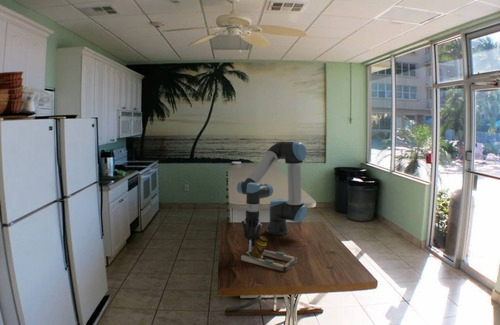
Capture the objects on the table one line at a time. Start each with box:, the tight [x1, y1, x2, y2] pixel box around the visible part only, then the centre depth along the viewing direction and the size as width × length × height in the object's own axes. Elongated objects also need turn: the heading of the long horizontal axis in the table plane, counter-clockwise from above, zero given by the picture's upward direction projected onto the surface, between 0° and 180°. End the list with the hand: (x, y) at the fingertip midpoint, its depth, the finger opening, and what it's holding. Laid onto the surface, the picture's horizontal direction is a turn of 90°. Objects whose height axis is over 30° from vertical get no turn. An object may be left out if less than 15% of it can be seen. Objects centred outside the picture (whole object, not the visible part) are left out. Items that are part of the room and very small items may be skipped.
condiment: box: [245, 235, 268, 259], centre depth 179 cm, size 7×8×12 cm
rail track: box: [240, 249, 298, 273], centre depth 176 cm, size 15×27×3 cm, turn 59°
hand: (251, 250), depth 181 cm, fingers closed
